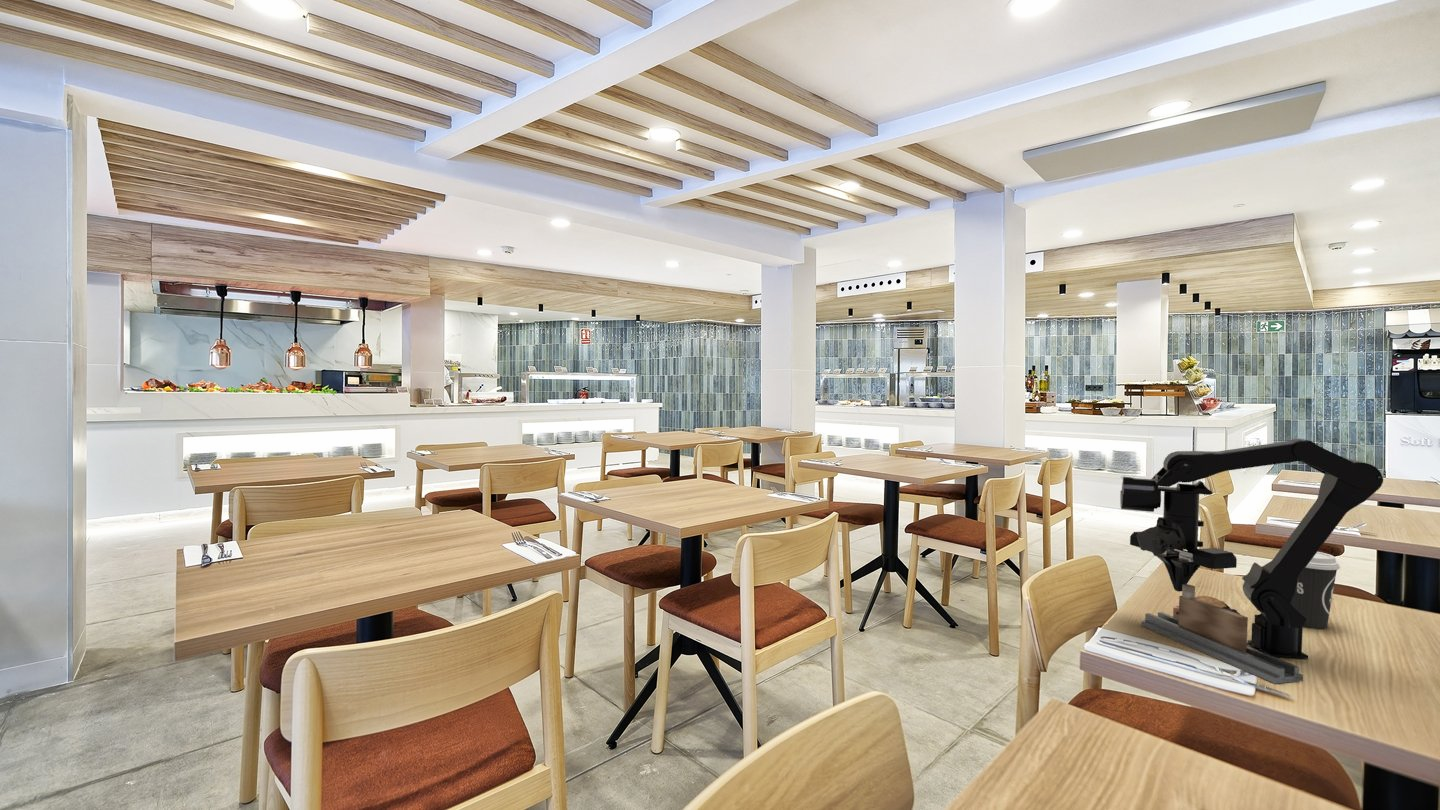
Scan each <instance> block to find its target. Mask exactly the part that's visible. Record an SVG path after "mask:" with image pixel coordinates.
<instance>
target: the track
mask: <svg viewBox="0 0 1440 810" xmlns="http://www.w3.org/2000/svg"><path fill="white" fill-rule="evenodd" d="M1144 616H1145V617H1144V620H1141V623H1140V624H1141V627H1143V628H1146V629H1148V630H1151V631H1153V632H1154V633H1157V634H1160V635H1162V636H1164V637H1167V638H1169V639H1172V640H1174V641H1176V642H1178V643H1180V644H1183V645H1185V646H1187V647H1188V648H1192V649H1194V650H1195V651H1199V652H1201V653H1203V654H1206V655H1208V656H1210V657H1212V658H1215V659H1217V660H1220V661H1222V662H1224V663H1226V664H1228V665H1231V666H1233V667H1236V668H1238V669H1240V670H1242V671H1243V672H1247V673H1249V674H1251V675H1254V676H1255V677H1258V678H1261V679H1263V680H1265V681H1268V682H1270V683H1273V684H1275V685H1277V684H1279V685H1280V684H1287V683H1296V682H1303V680H1304V675H1303V674H1302V673H1300V666H1298V665H1296V664H1293V663H1290V662H1289V661H1285V660H1283V659H1280V658H1277V657H1276V656H1271V655H1268V654H1266V653H1264V652H1263V651H1261V650H1259V649H1257V648H1256V649H1255V648H1253V647H1250V646H1248V645H1247V652H1246V653H1245V652H1243V651H1241V650H1238V649H1236V648H1233V647H1231V646H1228V645H1226V644H1223V643H1221V642H1219V641H1216V640H1214V639H1211V638H1209V637H1206V636H1204V635H1201V634H1199V633H1197V632H1194V631H1192V630H1189V629H1187V628H1184V627H1182V626H1179V625H1178V621H1179V619H1178V618H1175V617H1173V615H1171V614H1167V613H1165V612H1162V611H1161V612H1158V613H1157V615H1154V614H1152V613H1149V612H1147V613H1145V615H1144Z"/></svg>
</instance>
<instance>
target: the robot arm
mask: <svg viewBox="0 0 1440 810" xmlns="http://www.w3.org/2000/svg"><path fill="white" fill-rule="evenodd" d="M1293 462H1294V463H1295V462H1301V463H1302V464H1304V465H1307V466H1308V467H1310V468H1312V469H1314V470H1316V471H1317V472H1320V474H1324V475H1323V477H1322V479H1321V482H1320V485H1319V489H1318V495H1317V498H1316V501H1314V503H1313V504H1312V506H1311V507H1310V508H1309V510H1308V511H1307V513H1306V514H1305V515H1304V516H1303V517H1302V519H1301V521H1300V522H1299V523H1298V525H1297V526H1296V527H1295V529H1294V530H1293V532H1292V533H1291V534H1290V535H1289V537H1288V539H1287V540H1286V541H1285V542H1284V544H1283V545H1282V547H1281V548H1280V549H1279V551H1278V552H1277V553H1276V554H1275V556H1274V557H1273V559H1272V560H1271V561H1269V562H1268V563H1266V564H1264V565H1262V566H1261V565H1260V564H1259V563H1257V562H1253V564H1252V565H1251V567H1250V570H1249V572H1248V573H1246V575H1244V576H1243V577H1241V579H1242V580H1243V581H1244V582H1243V583H1242V591H1243V594H1244V596H1245V598H1247V599H1248V601H1249V602H1250V603H1251V604H1252V605H1253V606H1254V607H1255V608H1256V610H1257V611H1259V612H1260V613H1259V614H1254V622H1252V624H1251V639H1247V644H1249V645H1251V646H1253V647H1255V648H1256V649H1257V650H1258V651H1261V652H1263V653H1266V654H1268V655H1271V656H1273V657H1276V658H1277V657H1280V658H1294V659H1295V658H1296V659H1309V655H1308V654H1306V653H1304V652H1303V651H1302V650H1303V633H1304V632H1303V630H1304V629H1303V628H1304V627H1303V625H1304V623H1305V621H1306V618H1305V617H1304V616H1303V615H1302V614H1301V613H1300V612H1299V611H1298V610H1297V609H1296V608H1295V607H1294V606H1293V605H1292V604H1291V602H1292V600H1293V598H1294V596H1295V593H1296V589H1297V585H1298V580H1299V576H1300V574H1301V573H1302V571H1303V570H1304V569H1305V567H1306V566H1307V565H1308V563H1309V562H1310V561H1311V560H1312V558H1313V557H1314V556H1315V554H1316V553H1317V552H1319V550H1320V549H1321V547H1322V546H1323V545H1324V544H1325V542H1326V541H1327V539H1329V537H1330V536H1331V535H1332V533H1333V532H1334V530H1335V529H1336V527H1338V525H1339V523H1340V522H1341V521H1342V520H1343V518H1344V517H1345V516H1346V514H1347V513H1348V512H1350V511H1351V510H1353V509H1354V508H1356V507H1358V506H1359V505H1361V504H1363V503H1365V502H1366V501H1368V499H1369V498H1371V497H1372V496H1373V495H1374V494H1375V493H1376V492H1378V490H1379V489H1380V488H1381V487H1382V485H1383V483H1384V477H1383V475H1382V473H1381V471H1380V470H1379V469H1378V468H1377V467H1376V466H1374V465H1372V464H1371V463H1368V462H1363V461H1360V460H1357V459H1356V460H1355V459H1352V458H1351V459H1350V458H1345V457H1343V456H1341V455H1339V454H1337V453H1334V452H1332V451H1330V450H1329V449H1325V448H1324V447H1321V446H1320V445H1318V444H1316V443H1315V442H1314V441H1312V440H1308V439H1304V438H1293V439H1290V440H1287V441H1280V442H1273V443H1267V444H1266V443H1265V444H1260V445H1258V444H1257V445H1253V446H1246V447H1240V448H1238V447H1237V448H1231V449H1225V450H1217V451H1211V450H1209V451H1207V450H1205V451H1203V450H1202V451H1201V450H1180V451H1179V450H1177V451H1174V452H1170V453H1168V454H1167V455H1166V457H1165V458H1164V459H1163V463H1162V464H1163V465H1162V468H1160V469H1159V471H1157V472H1156V473H1155V474H1154V476H1153V477H1151V478H1138V477H1137V478H1135V477H1131V476H1122V483H1121V490H1120V491H1119V492H1120V494H1119V495H1120V496H1119V498H1120V499H1119V501H1120V503H1119V504H1120V509H1121V510H1124V511H1125V510H1128V511H1138V512H1149V513H1154V512H1155V510H1157V509H1159V508H1161V503H1162V492H1163V515H1162V516H1159V517H1157V519H1156V525H1155V526H1152V527H1149V528H1147V529H1145V530H1143V531H1133V532H1132V533H1131V535H1130V536H1129V545H1130V546H1134V547H1136V548H1140V550H1141V551H1143V552H1145V551H1146V552H1149V553H1152V554H1153V556H1154V557H1157V558H1158V559H1159V560H1161V561H1162V563H1163V564H1164V566H1165V569H1166V571H1167V573H1168V576H1169V579H1170V581H1171V584H1172V587H1173V589H1174V591H1176V592H1182V585H1183V584H1189V581H1190V580H1191V578H1192V577H1193V576H1194V574H1195V573H1196V572H1197V571H1198V570H1199V568H1200V567H1202V568H1207V569H1210V570H1211V569H1212V570H1221V569H1234V568H1235V569H1236V568H1237V566H1238V565H1237V556H1236V555H1235V554H1234V552H1232V551H1228V550H1224V549H1220V548H1217V547H1212V548H1210V547H1209V548H1204V541H1201V540H1199V527H1204V524H1205V523H1204V522H1205V521H1203V520H1200V519H1199V515H1200V514H1199V513H1200V495H1208V496H1210V495H1213V491H1212V490H1210V489H1209V488H1208V487H1207V486H1206V485H1205V483H1204V482H1203V481H1201V480H1203V479H1206V478H1209V477H1212V476H1214V475H1217V474H1219V473H1224V472H1229V471H1236V470H1243V469H1249V468H1257V467H1265V466H1272V465H1279V464H1280V465H1281V464H1287V463H1288V464H1289V463H1293ZM1196 481H1197V482H1196ZM1193 482H1195V483H1193ZM1191 483H1193V484H1191ZM1174 485H1176V487H1175V486H1174ZM1173 486H1174V487H1173ZM1202 547H1203V548H1202Z"/></svg>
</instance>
